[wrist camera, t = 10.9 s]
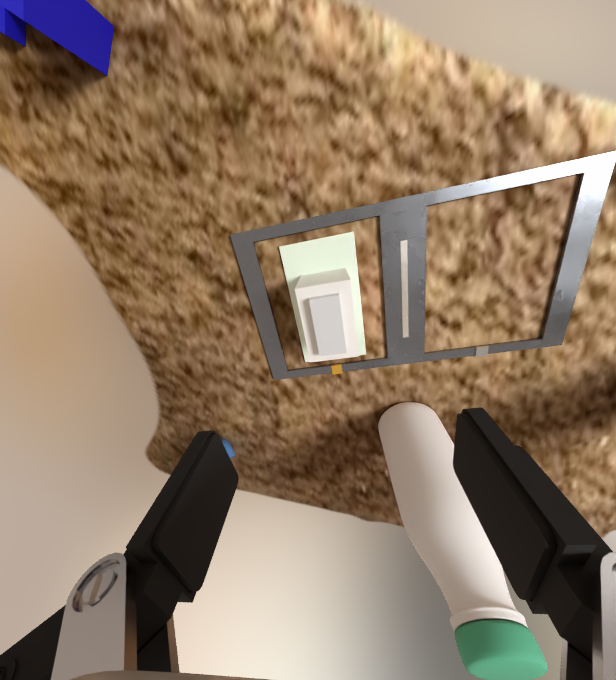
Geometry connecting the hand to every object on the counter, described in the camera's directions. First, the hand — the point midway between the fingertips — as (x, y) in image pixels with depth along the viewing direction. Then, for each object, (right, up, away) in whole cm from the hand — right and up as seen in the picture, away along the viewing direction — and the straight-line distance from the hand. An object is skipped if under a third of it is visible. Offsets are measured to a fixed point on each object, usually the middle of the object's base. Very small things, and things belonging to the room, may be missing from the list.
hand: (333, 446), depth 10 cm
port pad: (+1, +8, +16) cm, 18 cm away
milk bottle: (+12, -7, +23) cm, 27 cm away
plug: (+1, +8, +16) cm, 18 cm away
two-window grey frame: (+9, +9, +15) cm, 20 cm away
